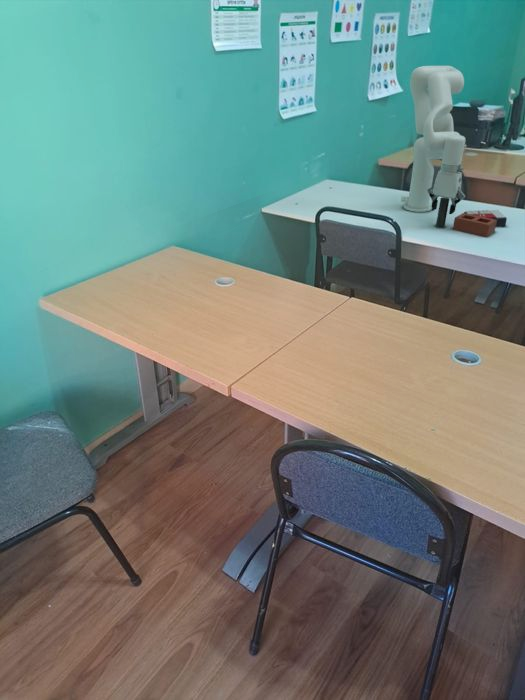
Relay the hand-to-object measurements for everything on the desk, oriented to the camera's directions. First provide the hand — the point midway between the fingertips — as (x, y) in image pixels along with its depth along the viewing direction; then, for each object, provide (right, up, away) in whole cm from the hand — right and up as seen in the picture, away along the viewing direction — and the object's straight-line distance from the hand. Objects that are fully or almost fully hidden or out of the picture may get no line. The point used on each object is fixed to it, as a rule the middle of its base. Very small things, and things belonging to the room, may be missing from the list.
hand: (442, 211), depth 217 cm
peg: (0, -6, +3) cm, 6 cm away
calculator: (+20, -3, +7) cm, 22 cm away
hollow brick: (+12, -8, -1) cm, 15 cm away
